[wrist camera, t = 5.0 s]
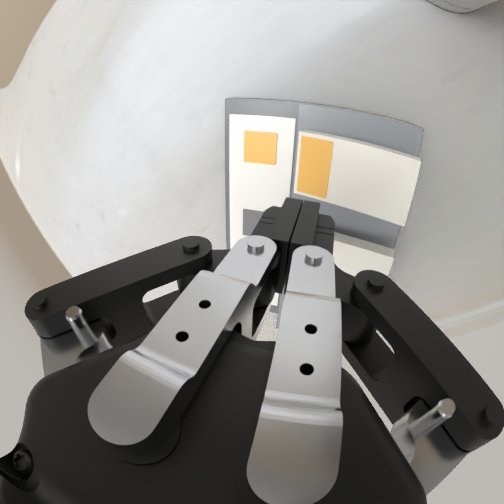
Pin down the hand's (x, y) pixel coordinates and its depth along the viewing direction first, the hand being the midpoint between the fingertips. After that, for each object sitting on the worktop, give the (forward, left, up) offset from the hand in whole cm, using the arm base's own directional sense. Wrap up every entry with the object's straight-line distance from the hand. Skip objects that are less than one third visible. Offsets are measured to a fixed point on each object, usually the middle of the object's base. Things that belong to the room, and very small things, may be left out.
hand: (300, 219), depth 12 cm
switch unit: (+8, 0, -15) cm, 17 cm away
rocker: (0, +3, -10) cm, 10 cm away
